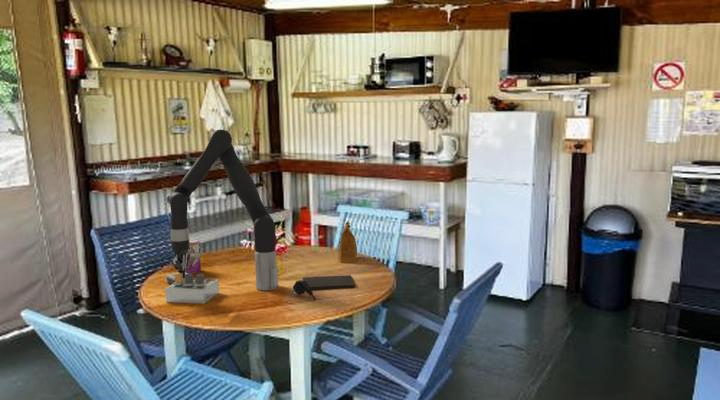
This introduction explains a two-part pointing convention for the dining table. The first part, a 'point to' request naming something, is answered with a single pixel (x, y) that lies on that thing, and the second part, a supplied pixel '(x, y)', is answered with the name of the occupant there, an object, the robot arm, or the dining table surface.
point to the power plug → (302, 288)
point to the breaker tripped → (178, 279)
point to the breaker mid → (189, 280)
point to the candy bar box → (193, 258)
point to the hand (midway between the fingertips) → (182, 278)
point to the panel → (192, 292)
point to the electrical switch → (172, 278)
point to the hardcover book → (329, 282)
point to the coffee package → (347, 246)
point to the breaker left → (200, 280)
